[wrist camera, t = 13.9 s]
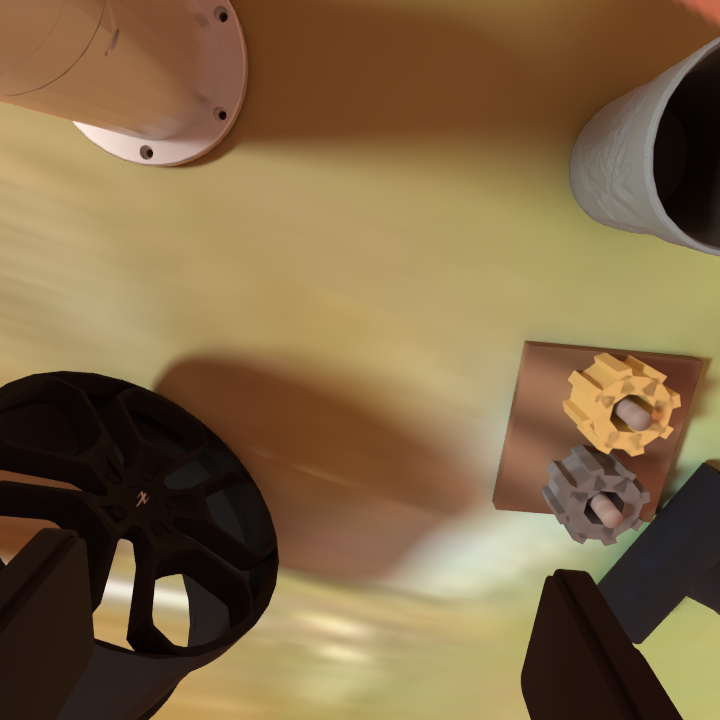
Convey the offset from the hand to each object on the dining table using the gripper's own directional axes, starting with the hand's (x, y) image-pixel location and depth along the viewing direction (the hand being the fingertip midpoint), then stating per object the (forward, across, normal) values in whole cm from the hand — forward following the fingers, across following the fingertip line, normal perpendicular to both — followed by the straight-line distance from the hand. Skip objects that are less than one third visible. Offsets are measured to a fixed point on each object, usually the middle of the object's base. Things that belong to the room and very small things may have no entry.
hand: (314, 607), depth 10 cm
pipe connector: (+29, -31, +18) cm, 46 cm away
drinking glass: (+28, -18, -12) cm, 36 cm away
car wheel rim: (+28, +14, +14) cm, 35 cm away
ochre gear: (+27, -20, +4) cm, 34 cm away
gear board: (+28, -20, +8) cm, 36 cm away
